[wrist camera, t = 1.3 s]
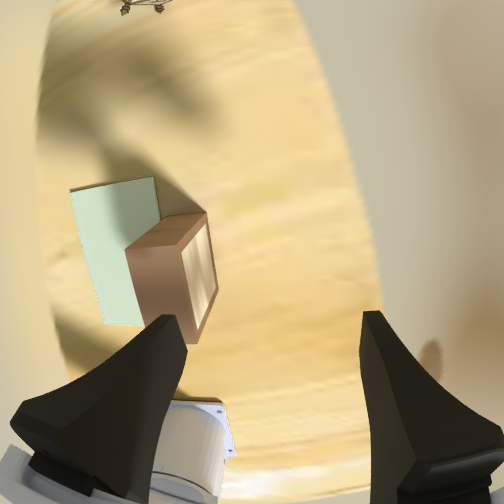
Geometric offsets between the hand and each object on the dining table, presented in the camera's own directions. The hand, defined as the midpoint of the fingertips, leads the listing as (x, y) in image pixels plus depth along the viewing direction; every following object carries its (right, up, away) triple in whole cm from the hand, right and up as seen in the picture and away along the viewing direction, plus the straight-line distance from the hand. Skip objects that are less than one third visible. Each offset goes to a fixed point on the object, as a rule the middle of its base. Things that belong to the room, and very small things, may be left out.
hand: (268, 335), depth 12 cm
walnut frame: (-5, +3, +12) cm, 13 cm away
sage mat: (-11, +3, +12) cm, 16 cm away
